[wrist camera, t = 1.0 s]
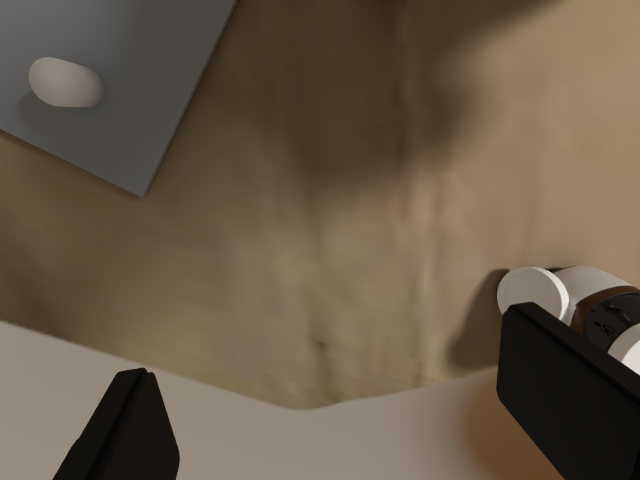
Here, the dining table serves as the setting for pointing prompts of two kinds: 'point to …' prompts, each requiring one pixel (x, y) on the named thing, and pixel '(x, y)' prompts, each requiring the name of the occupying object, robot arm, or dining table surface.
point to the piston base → (105, 78)
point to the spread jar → (582, 305)
